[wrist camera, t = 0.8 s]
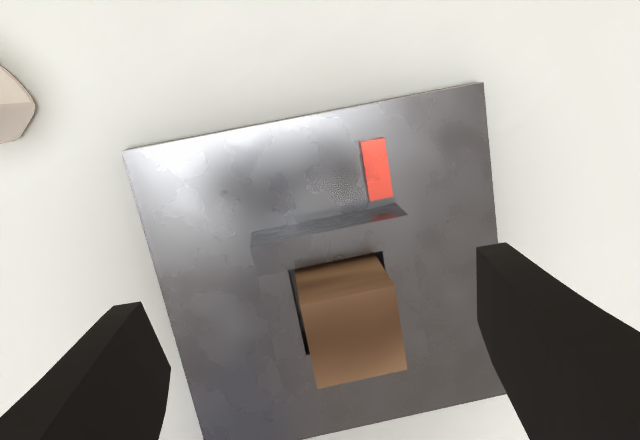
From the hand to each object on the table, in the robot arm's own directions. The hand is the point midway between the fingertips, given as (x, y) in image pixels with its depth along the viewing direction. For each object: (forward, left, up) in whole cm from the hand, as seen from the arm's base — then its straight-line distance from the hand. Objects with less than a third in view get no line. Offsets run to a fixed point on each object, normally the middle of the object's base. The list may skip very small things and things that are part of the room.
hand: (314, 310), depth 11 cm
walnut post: (-6, -2, -15) cm, 16 cm away
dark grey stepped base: (-6, -2, -16) cm, 17 cm away
